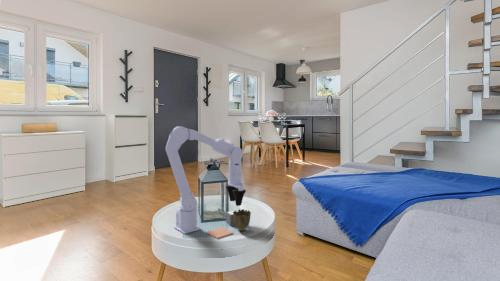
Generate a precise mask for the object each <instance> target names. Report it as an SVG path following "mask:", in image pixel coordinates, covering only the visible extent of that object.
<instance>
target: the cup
mask: <svg viewBox="0 0 500 281" xmlns="http://www.w3.org/2000/svg"><path fill="white" fill-rule="evenodd" d="M232 211H233V215H234V222H235V225H234V226H235V227H237V230H238V232H246V230H247V227H248V226H249V225H250V221H251V214H252V211H250V210H247V209H246V210H244V209H238V210H232ZM234 211H235V212H234ZM236 211H238V212H236Z"/></svg>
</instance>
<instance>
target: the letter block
mask: <svg viewBox="0 0 500 281" xmlns="http://www.w3.org/2000/svg"><path fill="white" fill-rule="evenodd" d="M233 211H234V212H235V211H236V212H238V210H231V211H230V210H229V211H226V212H225V222H226V224H227V225H228V226H229V227H235V226H236V225H235V222H234V215H233Z"/></svg>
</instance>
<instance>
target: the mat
mask: <svg viewBox="0 0 500 281" xmlns="http://www.w3.org/2000/svg"><path fill="white" fill-rule="evenodd" d="M205 233H206V234H208V235H209V236H211V237H212V238H215V239H217V240H219V239H221V238H224V237H227V236H231V235H233V234H234V231H231V230H229V229H226V228H225V227H222V226H221V227H217V228H214V229H210V230H208V231H206V232H205Z"/></svg>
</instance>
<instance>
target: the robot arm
mask: <svg viewBox="0 0 500 281" xmlns="http://www.w3.org/2000/svg"><path fill="white" fill-rule="evenodd" d="M187 140H189V141H194V140H196V141H198V142H200V143H203V144H205V145H208V146H211V148H212V150H213V151H214V152H216V153H218V154H221V155H223V156H226V157H228V180H227V185H225V188H226V190H227V193H228V197H229V201H230V202H234V203H235V206H236V207H238V206H242V203H243V198H244V195H245V193H246V191H247V190H246V189H245V187H244V184H245V182H244V181H243V179H242V178H243V176H242V174H243V173H242V170H243V169H242V167H243V166H242V165H243V164H242V158H243V157H244V152H243V150H242V148H240V147H239V146H236V145H234V143H230V142H228V141H226V140H225V139H224V138H217V139H214V138H211V137H209V136H208V135H206V134H203V133H201V132H200V131H198V130H194V129H190V128H186V127H185V126H182V125H181V126H180V125H179V126H178V125H177V126H175V127H174V128H173V129H171V131H170V133H169V136H168V140H167V142H166V145H165V152H166V155H167V158H168V161H169V164H170V167H171V171H172V173H173V177H174V178H175V182H176V186H177V188H178V191H179V194H180V196H179V202H180V204H181V205H180V207H178V208H177V210H176V212H175V220H176V221H175V226H174V229H176V230H177V231H179V232H180V233H182V234H183V235H186V234H189V233H192V232H196V231H200V230H202V227H200V226H198V207H197V204H198V201H197V198H196V197H195V194H194V193H193V191H192V189H191V188H190V185H189V184H190V183H189V181H188V179H187V176H186V172H185V169H184V167H183V163H182V161H181V156H180V153H179V150H180V148H181V146H182V145H183V144H184V143H185V142H186V141H187Z"/></svg>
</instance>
